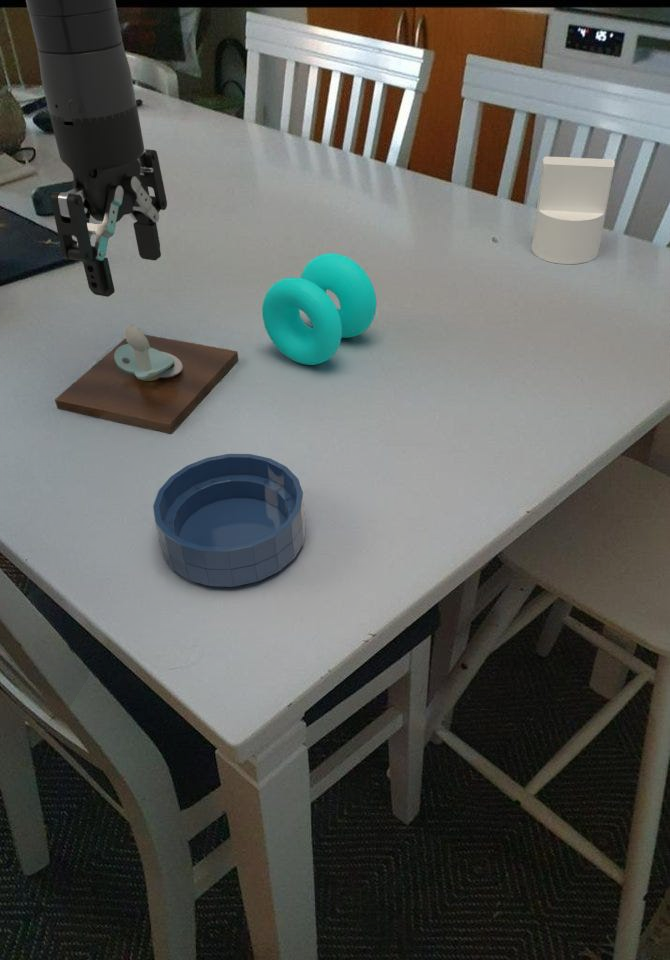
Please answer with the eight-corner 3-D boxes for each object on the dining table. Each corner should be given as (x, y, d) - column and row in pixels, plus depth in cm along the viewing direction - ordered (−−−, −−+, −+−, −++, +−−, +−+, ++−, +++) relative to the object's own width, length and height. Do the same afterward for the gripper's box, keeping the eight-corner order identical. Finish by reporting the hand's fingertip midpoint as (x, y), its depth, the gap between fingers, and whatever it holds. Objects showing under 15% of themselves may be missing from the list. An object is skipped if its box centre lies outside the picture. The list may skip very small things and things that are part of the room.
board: (171, 434, 82) (169, 424, 81) (57, 408, 86) (54, 399, 85) (238, 360, 92) (237, 351, 92) (134, 340, 97) (132, 331, 96)
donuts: (381, 340, 95) (381, 259, 88) (333, 380, 88) (329, 296, 82) (311, 319, 99) (307, 241, 93) (261, 355, 93) (252, 274, 87)
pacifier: (153, 350, 92) (110, 371, 89) (144, 300, 89) (99, 320, 85) (196, 371, 89) (153, 394, 85) (188, 320, 85) (143, 341, 81)
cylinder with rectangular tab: (529, 261, 109) (541, 172, 102) (533, 235, 116) (544, 149, 108) (598, 266, 108) (615, 175, 100) (598, 239, 114) (614, 151, 107)
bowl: (268, 607, 63) (263, 567, 61) (135, 569, 67) (124, 529, 64) (326, 509, 72) (324, 470, 69) (206, 480, 76) (199, 442, 73)
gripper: (102, 80, 77) (134, 243, 87) (3, 122, 67) (53, 301, 77) (171, 84, 75) (195, 252, 85) (79, 129, 64) (120, 313, 75)
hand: (128, 275), depth 81 cm, fingers open, 8 cm apart
